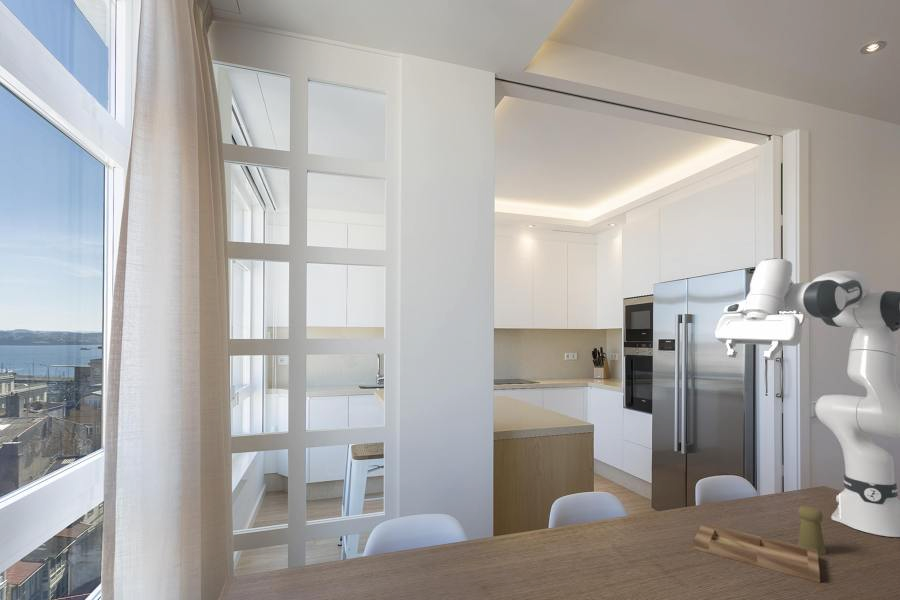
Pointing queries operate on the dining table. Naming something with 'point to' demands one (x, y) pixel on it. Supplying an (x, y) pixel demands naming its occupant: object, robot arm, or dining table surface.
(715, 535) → the keyhole board
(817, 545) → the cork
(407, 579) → the dining table surface
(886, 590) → the dining table surface
